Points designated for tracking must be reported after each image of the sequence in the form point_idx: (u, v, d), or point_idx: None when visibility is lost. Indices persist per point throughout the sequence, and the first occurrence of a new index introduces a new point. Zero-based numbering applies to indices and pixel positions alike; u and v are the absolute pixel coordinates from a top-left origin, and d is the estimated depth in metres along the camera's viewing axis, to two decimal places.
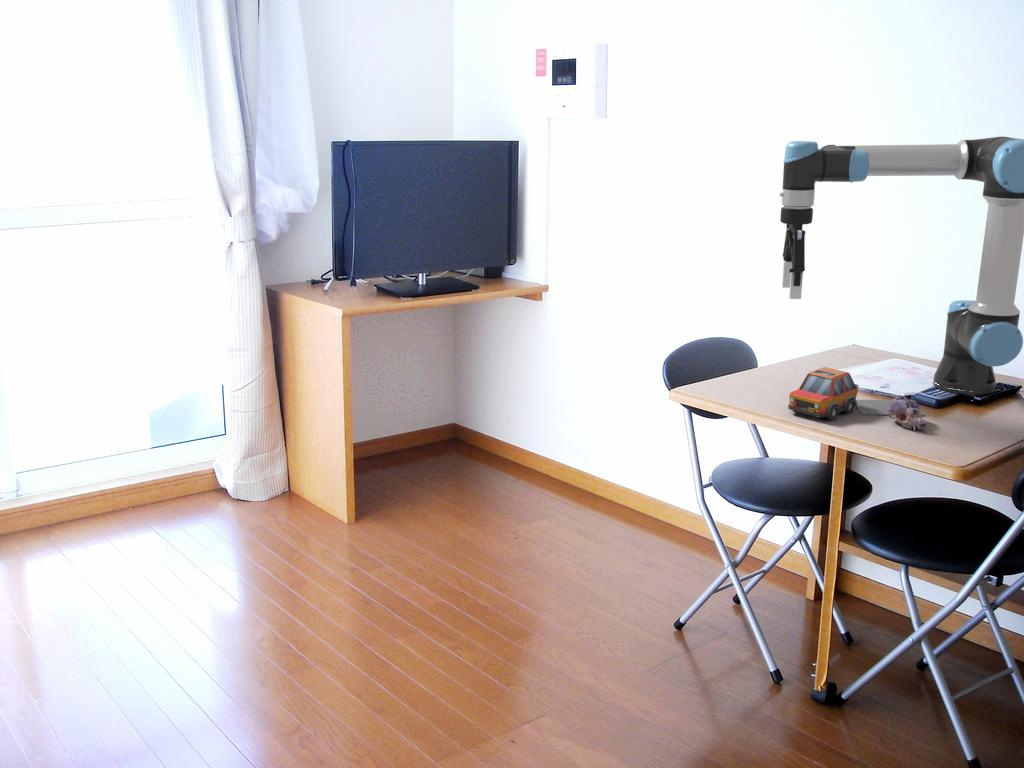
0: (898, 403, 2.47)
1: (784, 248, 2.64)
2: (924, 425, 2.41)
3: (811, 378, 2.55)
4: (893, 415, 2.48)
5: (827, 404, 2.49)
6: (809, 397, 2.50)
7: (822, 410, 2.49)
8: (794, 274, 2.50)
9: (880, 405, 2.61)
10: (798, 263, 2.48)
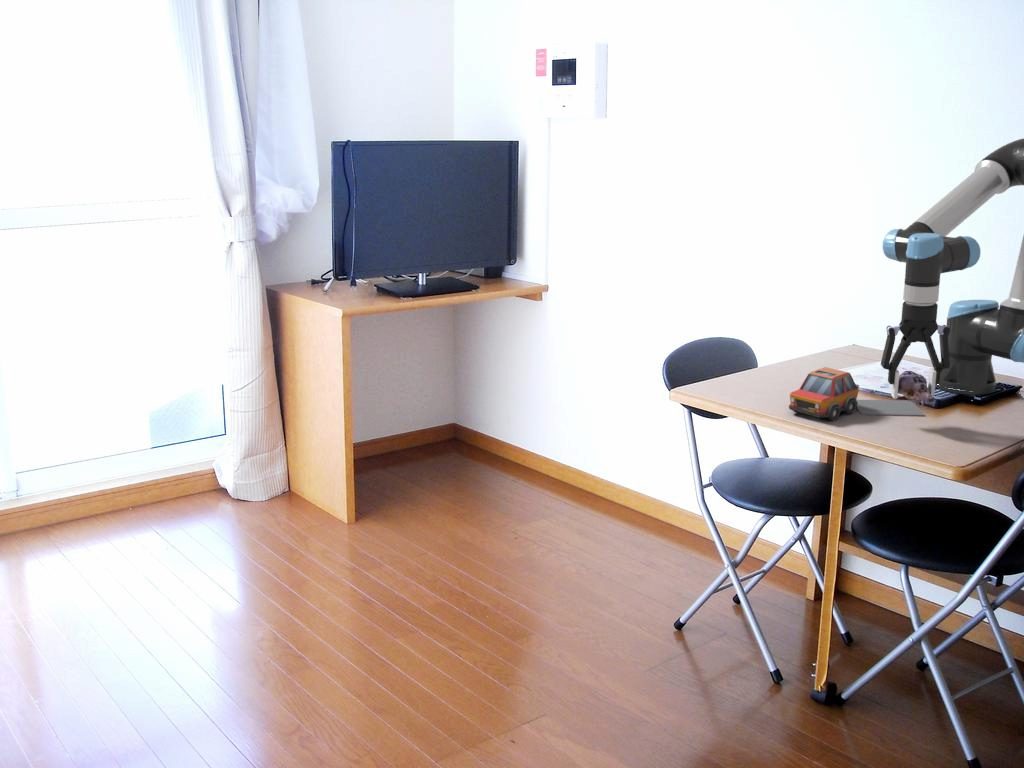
0: (905, 378, 2.44)
1: (941, 353, 2.44)
2: (932, 400, 2.38)
3: (811, 379, 2.55)
4: (900, 390, 2.44)
5: (828, 404, 2.49)
6: (810, 397, 2.50)
7: (823, 410, 2.49)
8: None
9: (880, 405, 2.61)
10: (882, 360, 2.44)
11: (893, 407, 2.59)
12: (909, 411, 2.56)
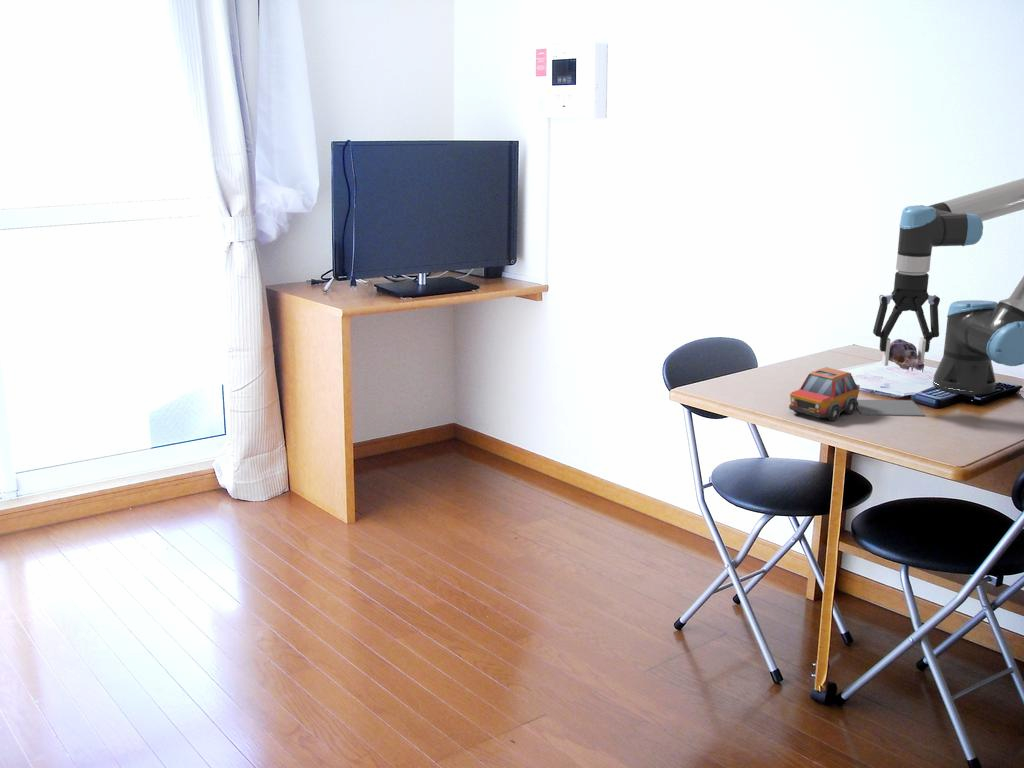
0: (896, 345, 2.54)
1: (931, 323, 2.53)
2: (921, 366, 2.48)
3: (812, 379, 2.55)
4: (891, 357, 2.54)
5: (828, 404, 2.49)
6: (810, 397, 2.50)
7: (823, 410, 2.49)
8: None
9: (880, 405, 2.61)
10: (875, 327, 2.54)
11: (893, 407, 2.59)
12: (909, 411, 2.56)
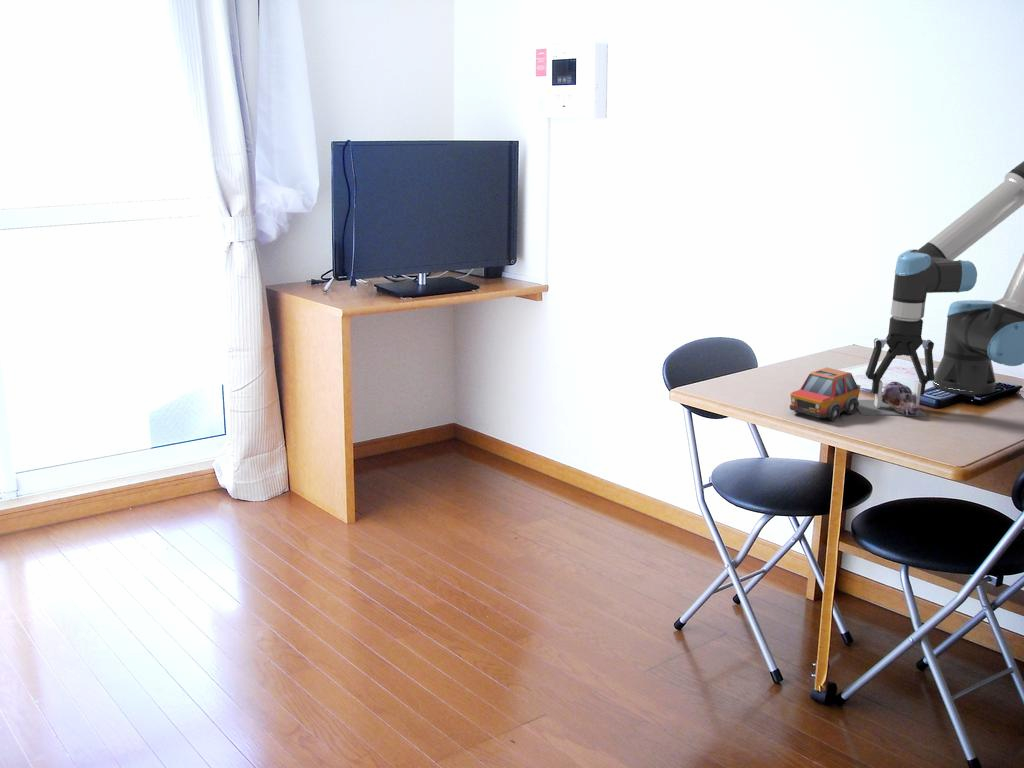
0: (891, 388, 2.57)
1: (926, 367, 2.57)
2: (916, 409, 2.51)
3: (812, 379, 2.55)
4: (887, 400, 2.57)
5: (828, 405, 2.49)
6: (811, 397, 2.50)
7: (823, 410, 2.49)
8: None
9: (880, 405, 2.61)
10: (867, 370, 2.57)
11: None
12: (909, 411, 2.56)
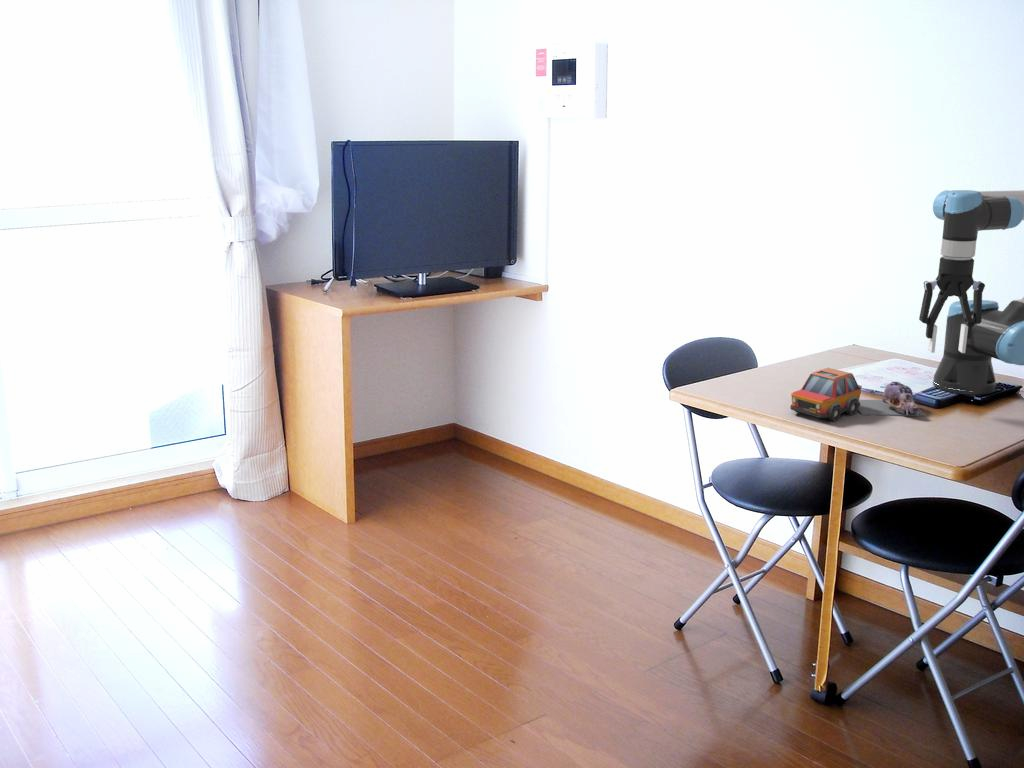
0: (892, 388, 2.57)
1: (973, 309, 2.52)
2: (916, 409, 2.51)
3: (813, 379, 2.55)
4: (887, 400, 2.57)
5: (829, 405, 2.49)
6: (811, 397, 2.50)
7: (823, 411, 2.48)
8: None
9: (880, 405, 2.61)
10: (921, 314, 2.52)
11: None
12: (909, 411, 2.56)
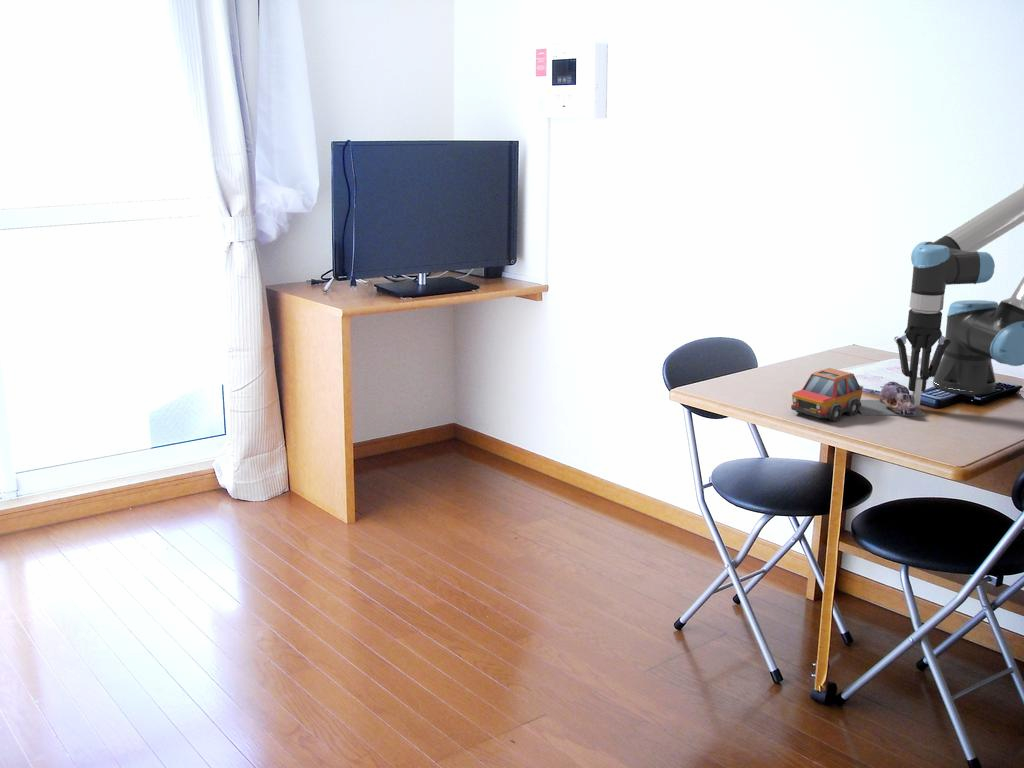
0: (889, 388, 2.57)
1: (931, 362, 2.56)
2: (913, 409, 2.51)
3: (814, 379, 2.55)
4: (884, 400, 2.57)
5: (829, 405, 2.49)
6: (812, 397, 2.50)
7: (824, 411, 2.48)
8: None
9: (880, 405, 2.61)
10: (902, 368, 2.56)
11: None
12: None
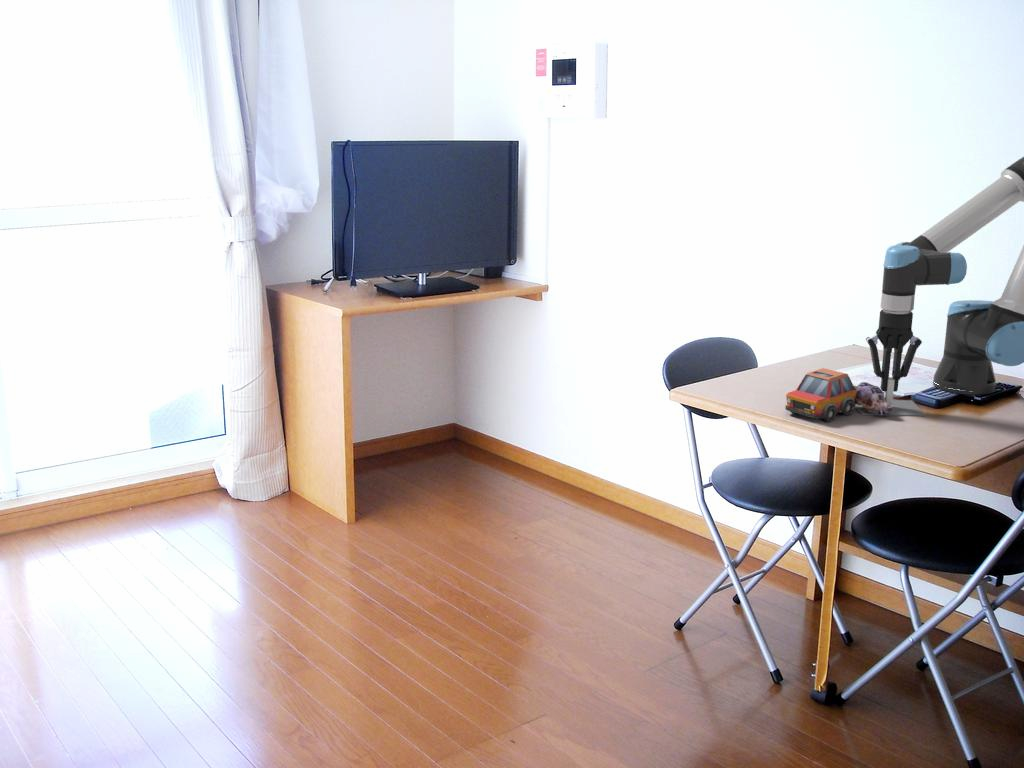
0: (863, 389, 2.56)
1: (903, 362, 2.57)
2: (891, 409, 2.51)
3: (808, 379, 2.54)
4: (859, 401, 2.56)
5: (823, 405, 2.49)
6: (806, 398, 2.50)
7: (818, 411, 2.48)
8: None
9: None
10: (874, 369, 2.57)
11: (893, 407, 2.59)
12: (909, 411, 2.56)
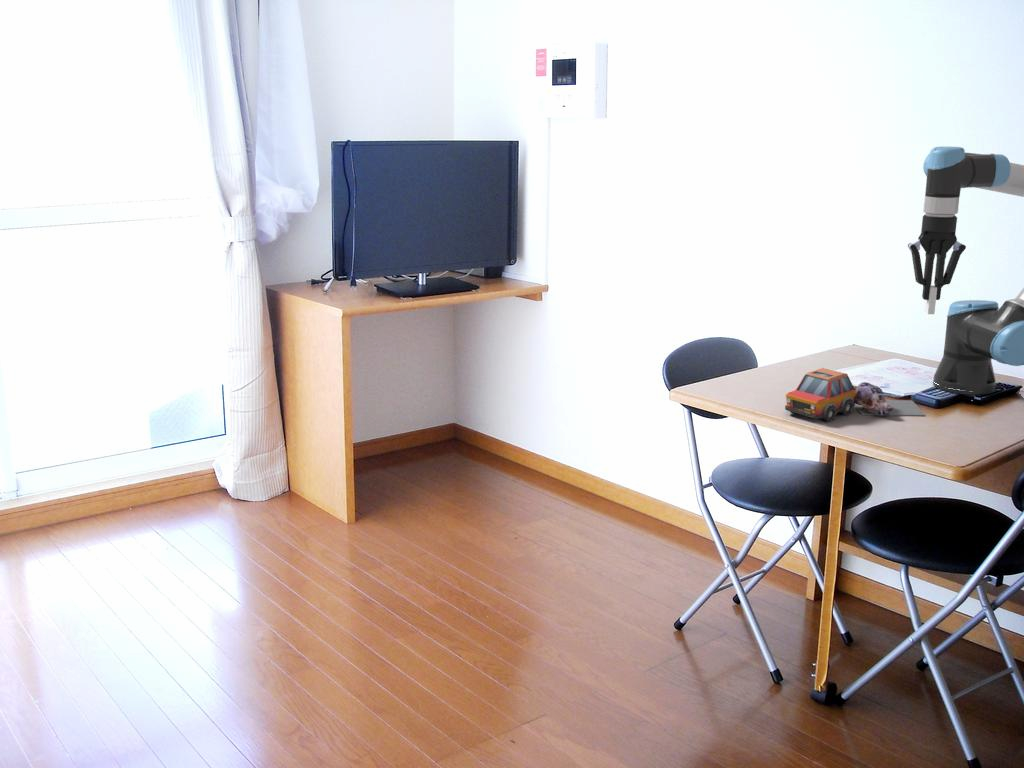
0: (863, 389, 2.56)
1: (946, 270, 2.49)
2: (891, 409, 2.51)
3: (808, 379, 2.54)
4: (859, 401, 2.56)
5: (823, 405, 2.49)
6: (806, 398, 2.50)
7: (818, 411, 2.48)
8: None
9: None
10: (916, 276, 2.49)
11: (893, 407, 2.59)
12: (909, 411, 2.56)
